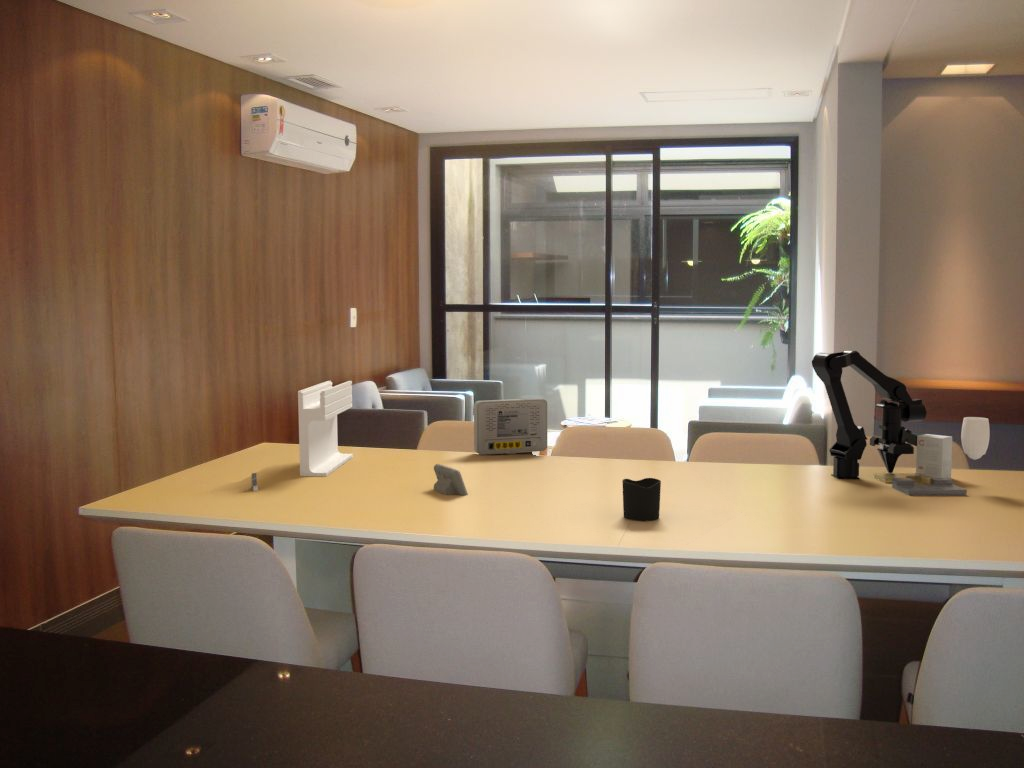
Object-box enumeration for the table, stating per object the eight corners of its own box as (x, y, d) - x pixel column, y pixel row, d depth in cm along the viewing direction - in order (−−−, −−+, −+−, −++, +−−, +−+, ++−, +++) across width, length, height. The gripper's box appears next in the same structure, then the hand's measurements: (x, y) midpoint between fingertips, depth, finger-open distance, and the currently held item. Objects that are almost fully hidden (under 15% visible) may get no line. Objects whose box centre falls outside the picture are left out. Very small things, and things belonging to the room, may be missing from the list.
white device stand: (329, 463, 319) (328, 380, 316) (353, 463, 318) (351, 380, 316) (300, 484, 284) (297, 391, 281) (326, 484, 283) (324, 391, 281)
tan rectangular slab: (889, 486, 276) (889, 475, 275) (874, 480, 287) (874, 469, 286) (937, 486, 276) (937, 475, 276) (920, 479, 287) (920, 469, 287)
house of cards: (228, 498, 266) (227, 471, 265) (259, 495, 269) (258, 469, 268) (232, 505, 257) (231, 477, 257) (265, 502, 261) (264, 474, 260)
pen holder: (651, 526, 229) (651, 485, 229) (615, 522, 234) (616, 482, 234) (666, 518, 237) (666, 479, 237) (632, 514, 242) (632, 475, 241)
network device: (541, 453, 338) (541, 397, 336) (550, 457, 330) (550, 399, 328) (472, 457, 330) (471, 400, 328) (479, 461, 322) (479, 402, 320)
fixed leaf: (908, 497, 261) (909, 486, 260) (891, 489, 272) (892, 478, 271) (966, 497, 261) (966, 485, 261) (947, 488, 272) (947, 477, 272)
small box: (951, 479, 287) (953, 436, 286) (941, 481, 283) (942, 438, 282) (925, 475, 293) (927, 433, 292) (915, 477, 289) (916, 435, 288)
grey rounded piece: (958, 492, 268) (961, 419, 266) (959, 487, 274) (962, 416, 272) (987, 494, 264) (990, 420, 262) (987, 489, 271) (990, 417, 269)
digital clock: (470, 503, 257) (470, 469, 256) (442, 505, 255) (442, 471, 254) (456, 493, 270) (456, 461, 269) (430, 495, 268) (429, 463, 267)
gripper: (932, 426, 281) (930, 478, 283) (904, 418, 300) (903, 467, 301) (894, 426, 281) (893, 478, 282) (869, 418, 299) (868, 467, 301)
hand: (890, 472), depth 292 cm, fingers closed
